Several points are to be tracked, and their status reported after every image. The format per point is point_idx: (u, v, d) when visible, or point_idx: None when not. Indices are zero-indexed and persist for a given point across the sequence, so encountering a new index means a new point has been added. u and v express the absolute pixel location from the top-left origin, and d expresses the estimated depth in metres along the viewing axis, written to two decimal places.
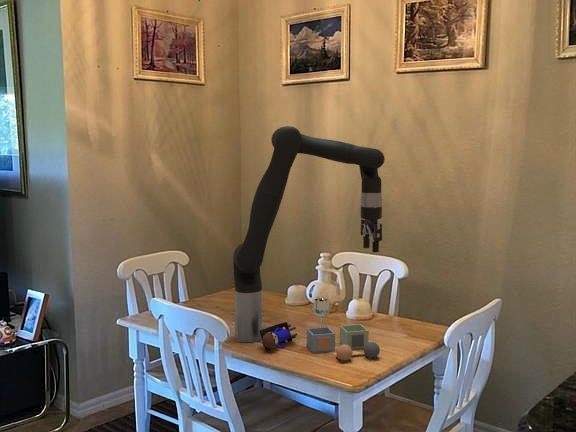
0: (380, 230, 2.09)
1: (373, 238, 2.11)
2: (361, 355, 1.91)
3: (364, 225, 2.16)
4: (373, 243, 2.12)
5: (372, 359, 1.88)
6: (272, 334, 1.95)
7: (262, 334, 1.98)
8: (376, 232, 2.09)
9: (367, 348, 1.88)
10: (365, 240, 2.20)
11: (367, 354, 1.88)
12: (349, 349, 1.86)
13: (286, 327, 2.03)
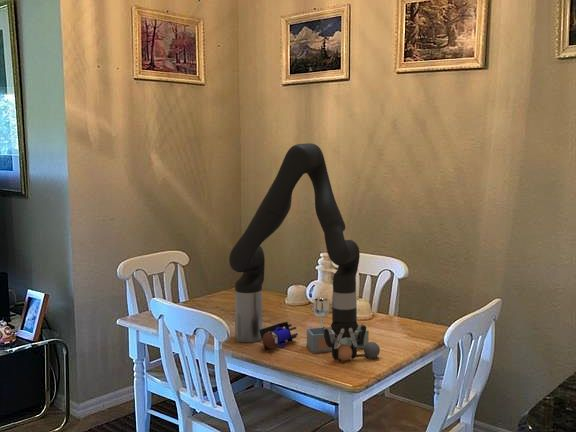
0: None
1: (356, 343, 1.87)
2: (361, 355, 1.91)
3: (342, 330, 1.84)
4: (354, 348, 1.87)
5: (372, 359, 1.88)
6: (272, 333, 1.96)
7: (262, 333, 1.99)
8: None
9: (367, 348, 1.88)
10: None
11: (367, 354, 1.88)
12: (349, 349, 1.86)
13: (286, 327, 2.04)
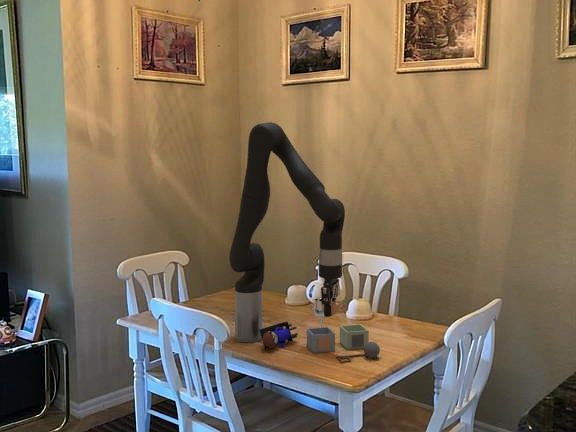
0: None
1: (336, 296, 1.97)
2: (361, 355, 1.91)
3: (335, 286, 1.91)
4: None
5: (372, 359, 1.88)
6: (272, 333, 1.96)
7: (262, 333, 1.99)
8: None
9: (367, 348, 1.88)
10: None
11: (367, 354, 1.88)
12: (335, 303, 1.94)
13: (287, 326, 2.04)
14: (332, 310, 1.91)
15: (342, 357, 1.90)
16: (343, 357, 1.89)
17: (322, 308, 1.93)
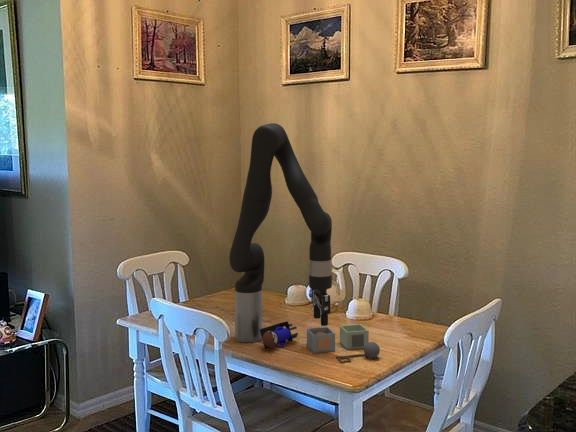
0: None
1: None
2: (361, 355, 1.91)
3: None
4: None
5: (372, 359, 1.88)
6: (271, 333, 1.97)
7: (262, 333, 2.00)
8: None
9: (367, 348, 1.88)
10: None
11: (367, 354, 1.88)
12: None
13: (287, 326, 2.04)
14: None
15: (342, 357, 1.90)
16: (343, 357, 1.89)
17: None
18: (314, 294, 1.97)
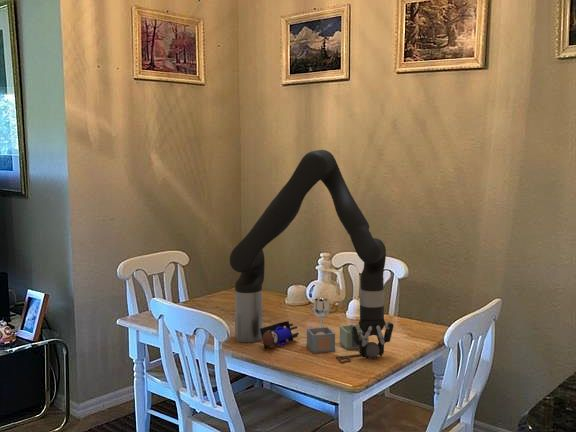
0: None
1: (384, 340, 1.89)
2: None
3: (370, 328, 1.86)
4: (381, 346, 1.89)
5: (372, 359, 1.88)
6: (271, 332, 1.97)
7: (262, 332, 2.00)
8: None
9: (367, 348, 1.88)
10: None
11: (367, 354, 1.88)
12: None
13: (287, 326, 2.04)
14: None
15: (342, 357, 1.90)
16: (343, 357, 1.89)
17: None
18: None
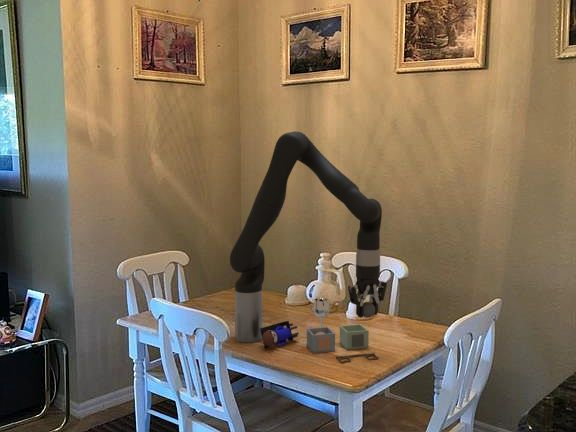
0: None
1: (378, 299, 1.91)
2: (361, 355, 1.91)
3: (368, 287, 1.88)
4: (376, 305, 1.92)
5: (372, 359, 1.88)
6: (271, 332, 1.97)
7: (262, 332, 2.01)
8: None
9: (364, 307, 1.89)
10: None
11: (364, 314, 1.89)
12: None
13: (287, 326, 2.04)
14: None
15: (342, 357, 1.90)
16: (343, 357, 1.89)
17: None
18: None
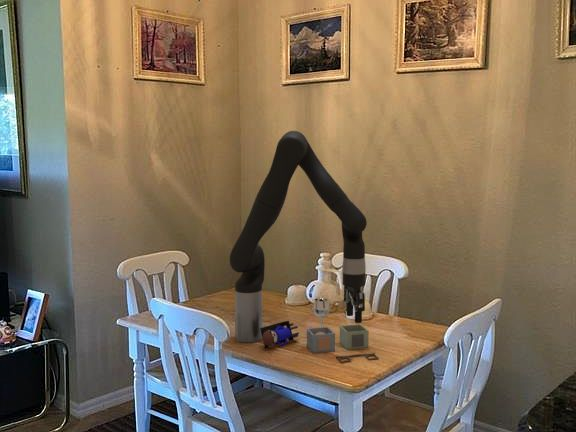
0: None
1: None
2: (361, 355, 1.91)
3: None
4: None
5: (372, 359, 1.88)
6: (271, 332, 1.98)
7: (262, 332, 2.01)
8: None
9: None
10: None
11: None
12: None
13: (288, 326, 2.05)
14: None
15: (342, 357, 1.90)
16: (343, 357, 1.89)
17: None
18: (348, 292, 2.00)
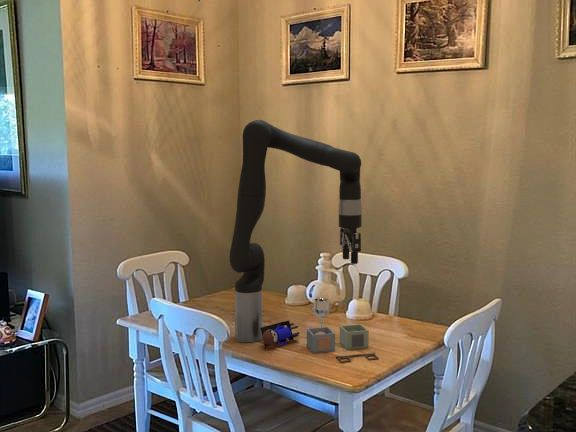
0: None
1: (348, 243, 2.05)
2: (361, 355, 1.91)
3: None
4: None
5: (372, 359, 1.88)
6: (271, 332, 1.98)
7: (263, 331, 2.01)
8: None
9: None
10: None
11: None
12: None
13: (288, 325, 2.05)
14: None
15: (342, 357, 1.90)
16: (343, 357, 1.89)
17: None
18: (344, 234, 2.00)
